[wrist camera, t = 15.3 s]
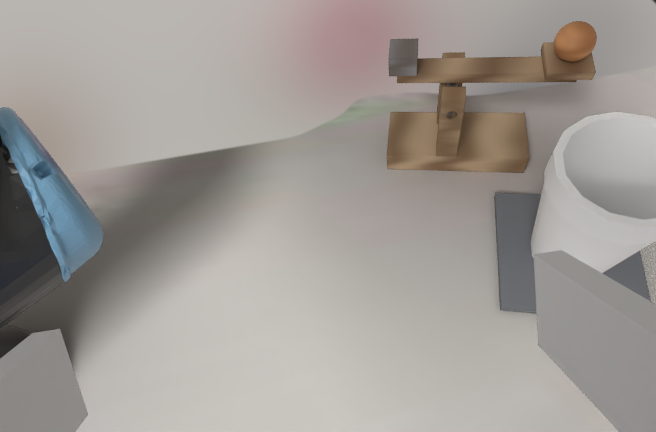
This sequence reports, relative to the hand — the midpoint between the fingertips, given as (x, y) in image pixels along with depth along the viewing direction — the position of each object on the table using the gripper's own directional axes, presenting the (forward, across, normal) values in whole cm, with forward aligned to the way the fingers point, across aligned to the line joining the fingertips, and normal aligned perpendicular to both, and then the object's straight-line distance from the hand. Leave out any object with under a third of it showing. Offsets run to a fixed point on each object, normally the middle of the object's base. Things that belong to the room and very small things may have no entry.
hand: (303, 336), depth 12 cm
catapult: (+38, +17, -1) cm, 41 cm away
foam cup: (+27, +22, -10) cm, 36 cm away
